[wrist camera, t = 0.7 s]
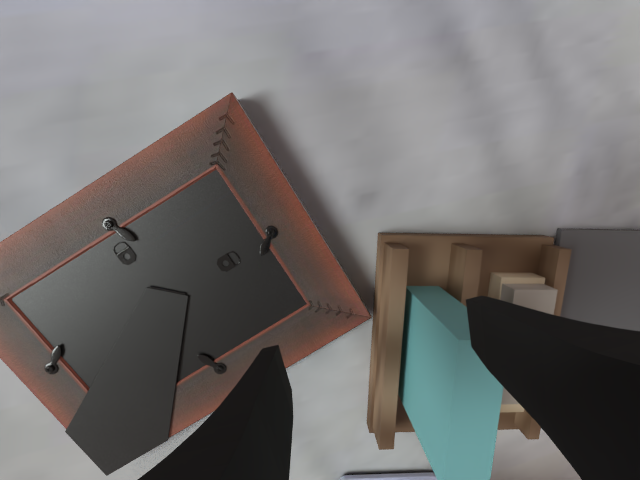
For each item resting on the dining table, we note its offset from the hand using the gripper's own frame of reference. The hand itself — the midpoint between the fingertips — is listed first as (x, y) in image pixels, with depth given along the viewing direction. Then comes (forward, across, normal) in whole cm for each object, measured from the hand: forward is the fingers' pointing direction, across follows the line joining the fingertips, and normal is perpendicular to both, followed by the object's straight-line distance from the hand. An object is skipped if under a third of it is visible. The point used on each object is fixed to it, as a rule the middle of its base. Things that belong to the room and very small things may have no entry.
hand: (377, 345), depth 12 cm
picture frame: (+11, +12, 0) cm, 16 cm away
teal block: (+9, -4, +7) cm, 12 cm away
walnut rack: (+10, -7, +7) cm, 14 cm away
